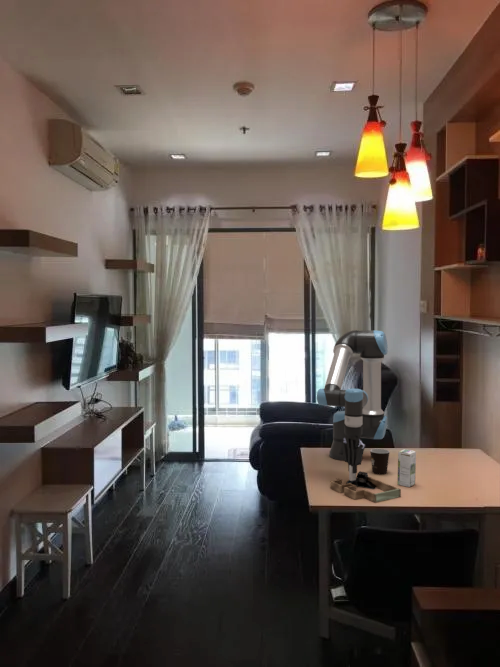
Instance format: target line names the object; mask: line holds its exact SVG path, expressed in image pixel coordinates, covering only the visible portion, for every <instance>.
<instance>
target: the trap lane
mask: <svg viewBox="0 0 500 667" xmlns="http://www.w3.org/2000/svg"><path fill="white" fill-rule="evenodd" d="M360 479H361V478H360ZM368 481H370V482H372V483H373V484H374V485H376V488H375V489H379V490H381V492H377V493H374V492H372V491H369V490H367V489H366V488H364V489H360V490H357V486H355V485H353V484H351V483H348V484H346V483H343V479H341V478H340V477H337V478H336V479H335V480H331V481H330V482H329V483H330V485H329V486H330V489H331V490H333V491H335V492H337V493H341V494H342V493H343V495H344V496H346V497H348V498H350V499H352V500H359V499H366V500H368V501H371V502H372V503H379V502H383V501H387V500H388V501H389V500H393V499H397V498H401V497H402V494H401V493H402V489H401V488H398V487H397V486H394V485H391V484H388V483H387V482H384V481H381V480H379V479H376V478H373V477H370V476H368Z"/></svg>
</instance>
